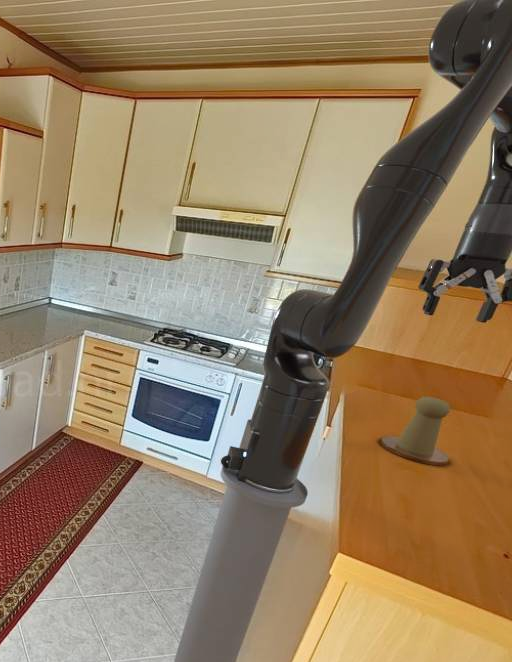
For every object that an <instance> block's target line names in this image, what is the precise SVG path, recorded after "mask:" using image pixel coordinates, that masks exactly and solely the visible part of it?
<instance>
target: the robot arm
mask: <svg viewBox="0 0 512 662" xmlns="http://www.w3.org/2000/svg"><path fill="white" fill-rule="evenodd" d="M427 54H428V55H427V56H428V62H429V65H430V68H431V69H432V70H433V72H434V73H435V74H437V76H439V77H440V78H442V79H444V80H445V81H447V82H448V83H450V84H451V85H453V86H454V87H455V88H457V89H458V90H459V92H458V93H457V94H456V95H455V96H454V97H453V98H452V99H451V100H449V102H448V103H447V104H445V105H444V106H443V107H442V108H441V109H440V110H438V111H437V112H435V114H433V115H432V116H431V117H429V118H428V119H426V120H425V121H424V122H422V123H421V124H419V125H418V126H417V127H416V128H414V129H413V130H411V131H410V132H409V133H407V134H406V135H404V137H402V138H401V139H399V140H398V141H397V142H395V144H393V146H391V147H390V148H389V149H388V150H387V151H385V153H384V154H383V155H382V156H381V157H380V158H379V159H378V161H377V162H376V164H375V165H374V167H373V169H372V170H371V172H370V174H369V176H368V177H367V179H366V180H365V183H364V184H363V186H362V188H361V190H360V191H359V193H358V194H357V197H356V199H355V201H354V205H353V210H352V217H351V219H352V221H351V223H352V225H351V226H352V242H353V243H352V245H353V248H352V249H353V250H352V257H351V261H350V264H349V267H348V268H347V271H346V273H345V274H344V277H343V279H342V281H341V283H340V284H339V286H338V287H337V288H336V291H335V292H334V294H333V293H329V292H325V291H319V290H315V289H309V288H302V289H297V290H295V291H293V292H291V293H290V294H289V295H287V296H286V297H285V298H284V300H283V301H282V302H281V303H280V305H279V306H278V308H277V310H276V312H275V315H274V317H273V321H272V324H271V328H270V332H269V337H268V340H267V345H266V349H265V353H264V357H263V366H262V367H263V372H264V375H263V379H262V383H261V387H260V390H259V393H258V396H257V400H256V402H255V406H254V409H253V412H252V416H251V419H248V420H247V421H246V424H245V427H244V431H243V434H242V437H241V441H240V444H239V447H236V446H231V445H230V446H229V449H228V452H227V454H226V455H224V456H223V457H221V459H220V464H221V465H222V466H224V468H225V469H227V468H229V469H233V470H235V473H236V475H237V479H238V481H241V482H245V483H247V484H249V485H251V486H253V487H255V488H257V489H260V490H263V491H267V492H271V493H278V494H285V493H290V492H291V491H293V489H294V486H295V482H296V479H298V475H299V473H300V470H301V467H302V464H303V462H304V459H305V455H306V453H307V450H308V447H309V444H310V441H311V440H312V436H313V433H314V431H315V427H316V425H317V422H318V419H319V416H320V413H321V411H322V408H323V405H324V402H325V399H326V396H327V395H328V394H327V393H328V391H329V388H330V380H329V379H328V377H327V376H326V375H325V374H324V372H322V371H321V370H320V368H319V367H318V366H317V364H316V361H315V359H314V355H316V356H319V357H322V358H325V359H337V358H339V357H342V356H343V355H345V354H347V353H348V352H349V351H350V350H352V349H353V347H354V346H355V345H357V343H358V342H359V340H360V339H361V337H362V335H363V334H364V332H365V331H366V329H367V327H368V325H369V324H370V321H371V319H372V317H373V316H374V314H375V312H376V310H377V307H378V306H379V303H380V302H381V299H382V297H383V295H384V293H385V291H386V289H387V287H388V285H389V282H390V280H391V279H392V278H393V277H392V276H393V275H394V273H395V272H396V269H397V268H398V266H399V265H400V263H401V261H402V259H403V257H404V256H405V254H406V252H407V250H408V249H409V247H410V245H411V244H412V242H413V240H414V239H415V237H416V236H417V234H418V232H419V230H420V229H421V227H422V226H423V225H424V223H425V221H426V220H427V218H428V217H429V215H430V214H431V213H432V211H433V209H434V208H435V206H436V205H437V203H438V202H439V200H440V199H441V197H442V196H443V194H444V192H445V190H446V189H447V187H448V185H450V182H451V181H452V178H453V176H454V175H455V173H456V172H457V170H458V168H459V166H460V164H461V163H462V161H463V159H464V158H465V157H466V154H467V152H469V150H470V148H471V147H472V145H473V143H474V141H475V140H476V138H477V137H478V135H479V133H481V131H482V129H483V127H485V125H486V123H487V121H488V120H490V121H491V123H492V125H493V126H494V127H493V129H492V132H491V135H490V143H489V161H488V169H487V174H486V179H485V182H484V184H483V188H482V190H481V192H480V194H479V198H478V199H477V202H476V204H475V206H474V208H473V209H472V212H471V213H470V215H469V218H468V220H467V222H466V223H465V225H464V229H463V232H462V234H461V237H460V238H459V242H458V244H457V246H456V249H455V251H454V254H453V257H452V259H451V260H450V261H445V260H443V259H438V258H433V259H431V260H430V261H429V263H428V265H427V268H426V269H425V272H424V274H423V275H422V278H421V280H420V282H419V284H418V287H417V288H418V290H420V291H423V292H424V293H426V294H427V296H426V298H425V300H424V303H423V305H422V311H423V313H424V314H423V315H426V316H433V315H434V314H435V311H436V310H437V306H438V305H439V302H440V300H441V295H442V294H443V293H445V292H447V291H448V290H451V289H453V288H454V287H456V286H457V287H464V288H468V287H469V288H474V289H480V291H481V292H482V293H483V295H484V297H485V299H486V301H483V303H482V305H481V307H480V310H479V312H478V314H477V316H476V318H475V320H476V322H479V323H484V324H485V323H487V322H488V321H491V319H493V317H494V314H495V312H496V310H497V308H498V306H499V305H500V304H501V303H507V302H509V303H510V302H511V303H512V267H511V268H510V267H506V265H507V262H508V260H509V259H510V257H511V255H512V0H459V1H457V2H455V3H454V4H452V5H451V6H449V8H448V9H447V10H445V12H444V13H443V14H442V15H441V17H440V18H439V20H438V22H437V23H436V24H435V28H433V32H432V34H431V37H430V39H429V44H428V53H427ZM445 269H446V270H447V273H448V274H447V275H446V276H445V277H443V278H442V279H440V280H439V281H438V282H437V283H436V284H435V282H436V280H437V279H438V276H439V274H440V273H442V272H443V271H444V270H445ZM502 276H503V279H504V280H505V281H504V283H503V285H502V289H501V291H500V288H499V285H498V283H497V281H496V280H497V279H499V278H500V277H502ZM434 284H435V285H434ZM227 462H228V463H227Z"/></svg>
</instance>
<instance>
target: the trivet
mask: <svg viewBox="0 0 512 662" xmlns="http://www.w3.org/2000/svg"><path fill="white" fill-rule="evenodd" d="M399 438H400V436H393V435H389V436H388V435H387V436H383V437H382V438H381V440H380V444H381V446H382V447H383V448H384V449H386V450H387V451H389V452H391V453H393V454H395V455H397V456H400V457H402V458H404V459H408V460H410V461H414V462H417V463H420V464H424V465H425V464H426V465H431V466H445V465H448V463H449V460H450V457H449V455H447V454H446V453H445V452H443V451H441V450H440V449H438V448H436V447H435V449H434V453H433V455H431V456H426V455H420V454H416V453H412V452H410V451H407V450H405V449H403V448H401V447H399V446H398V445H397V444H396V443H397V441H398V439H399Z"/></svg>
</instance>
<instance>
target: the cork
mask: <svg viewBox="0 0 512 662" xmlns="http://www.w3.org/2000/svg"><path fill="white" fill-rule="evenodd" d="M415 410H416V411H415V413H414V415H413V416H412V417H411V419H410V421H408V424H407V425H406V427H405V428H404V430H403V431H402V433H401V435H400V436H399V437H400V438H399V439H398V441H397V443H396V444H397V445H398V446H399V447H401V448H403V449H405V450H407V451H410V452H412V453H416V454H420V455H426V456H431V455H433V453H434V449H435V448H436V445H437V440H438V437H439V434H440V429H441V425H442V422H443V418H446V417H447V416H448V415H449V414H450V411H451V406H450V404H449V402H447V401H445V400H442V399H440V398H437V397H431V396H422V397H420V398H419V399H417V401H416V402H415Z"/></svg>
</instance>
